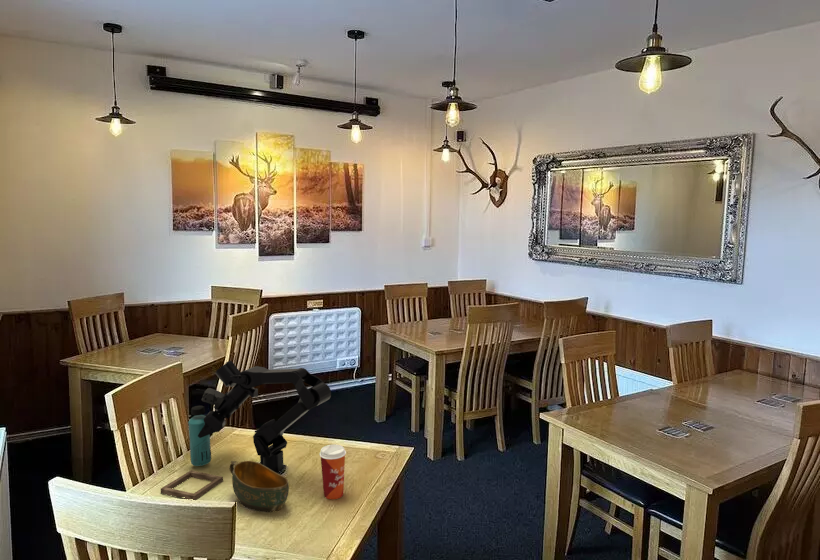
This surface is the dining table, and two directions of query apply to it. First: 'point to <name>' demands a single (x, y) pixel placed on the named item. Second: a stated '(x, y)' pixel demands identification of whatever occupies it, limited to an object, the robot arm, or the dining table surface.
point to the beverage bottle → (198, 445)
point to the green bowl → (258, 486)
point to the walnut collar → (168, 488)
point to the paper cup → (333, 470)
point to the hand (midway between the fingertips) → (203, 431)
